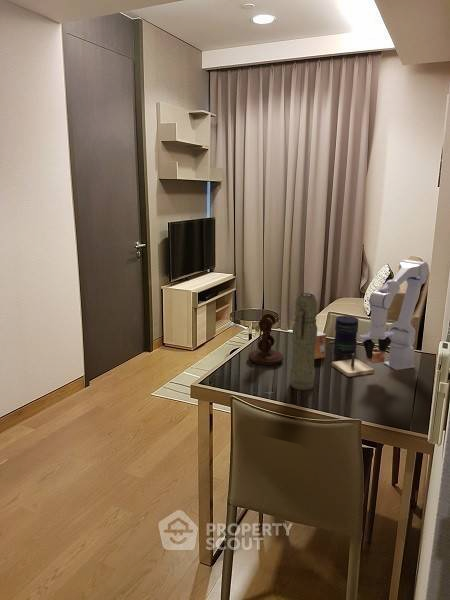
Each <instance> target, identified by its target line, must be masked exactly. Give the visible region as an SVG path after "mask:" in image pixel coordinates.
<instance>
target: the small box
mask: <svg viewBox="0 0 450 600" xmlns="http://www.w3.org/2000/svg"><path fill="white" fill-rule="evenodd" d="M326 343H327V334H325V333H323V332H321V331H320V330H317V342H316V344H315V354H314V360H316V359H323V358H325V356H326V346H327V345H326Z"/></svg>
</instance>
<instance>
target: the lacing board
mask: <svg viewBox="0 0 450 600" xmlns="http://www.w3.org/2000/svg"><path fill="white" fill-rule="evenodd" d="M331 366H332V367H333V368H334V369H336V370H337V371H339V372H340V373H342V374H343V375H345V376H346V377H349V378H350V377H354V376H356V377H357V376H361V375H368V374H374V373H375V369H374V368H373V367H371V366H370V365H367V364H366V363H364V362H362V360H359V359H358V358H356V353H354V354H351V359H344V360H337V361H332V362H331Z"/></svg>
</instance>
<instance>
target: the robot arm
mask: <svg viewBox="0 0 450 600" xmlns="http://www.w3.org/2000/svg"><path fill="white" fill-rule="evenodd" d="M429 271H430V270H429V264H428V263H427V261H418V260H413V259H412V260H411V259H406V258H404V259H402V260H401V261H400V263H399V265H398V270H397V273H396V274H395V275H394V276H393V278H392V279H388V280H386V281H385V283H384V284H383V285H382V286H381V287H380V288H379V289H378V290H376V291H374V292H371V293H370V296H369V299H368V304H369V310H370V311H371V312H370V322H369V323H370V324H369V332H367V333H365V334H359V337H358V338H359V339H358V340H359V341H360V342H361V343H362V345H363V347H364V352H365V356H367V358H369V359H371V358H372V352H373V348H375V346H376V343H375V342H373V341H374V340H377V342H378V349H380V350H382V351H384V352H385V353H386V351H387V349H388V347H389V346H390V347H389V356H388V361H384V362H383V364H385V365H386V366H387V367H390V368H392V369H394V370H396V371H398V370H399V371H400V370H406V369H411V368H415V365H414V364H415V363H414V360H415V355H416V354H415V348H414V346H413V345H414V343H415V341H416V329H415V327H414V326H413V324H412V319H413V316H414V312H415V309H416V305H417V302H418V297H419V295H420V291H421V287H422V285H423V284H426V281H427V277H428V275H429ZM405 281H406V283H407V287H406V290H405V294H404V297H403V300H402V305H401V309H400V312H399V316H398V318H397V321H394V322H392V323H391V324H390V327H389V329H388V330H387V319H388V309H389V308H390V307H391V306H392V302H393V301H394V297H395V296H396V295H397V294H398V292H400V290H401V285H402V284H403V283H404V282H405ZM386 330H387V331H386Z"/></svg>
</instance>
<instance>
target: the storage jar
mask: <svg viewBox="0 0 450 600" xmlns="http://www.w3.org/2000/svg"><path fill="white" fill-rule="evenodd" d="M358 329H359V319H358V318H357V317H354V316H348V315H339V316H337V317H335V327H334V330H335V336H334V341H333V347H334V348H333V352H335V353H336V354H340V355H352V354H356V353H357V352H356V351H357V350H356V349H357V345H358V344H357V343H358V342H357V334H358V331H359V330H358Z"/></svg>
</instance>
